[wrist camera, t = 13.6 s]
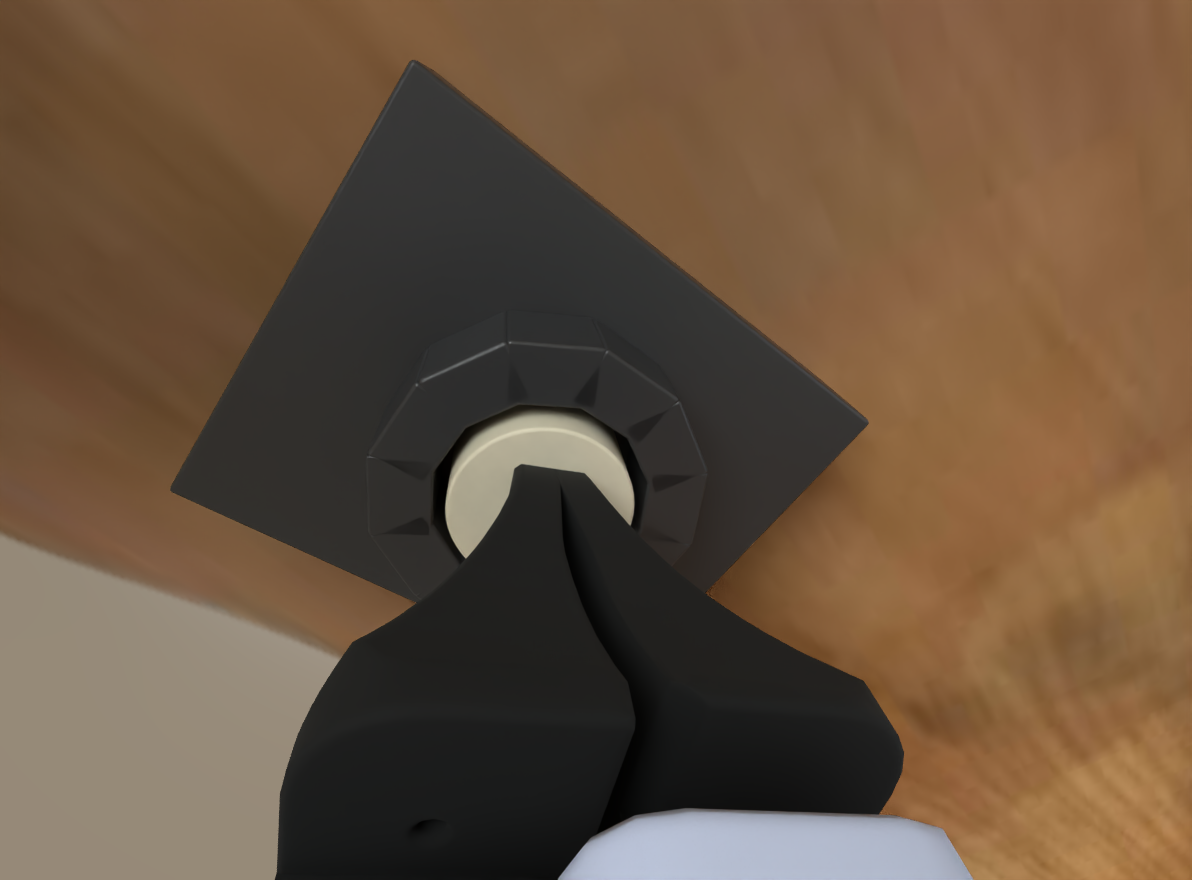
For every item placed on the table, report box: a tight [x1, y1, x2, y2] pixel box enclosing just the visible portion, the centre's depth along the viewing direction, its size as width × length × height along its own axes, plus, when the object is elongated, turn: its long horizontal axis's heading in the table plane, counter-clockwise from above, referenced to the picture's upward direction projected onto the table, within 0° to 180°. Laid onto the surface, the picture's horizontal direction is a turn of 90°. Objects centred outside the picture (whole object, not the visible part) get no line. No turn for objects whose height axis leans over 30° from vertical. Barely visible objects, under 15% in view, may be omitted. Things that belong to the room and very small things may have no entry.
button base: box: [170, 60, 869, 603], centre depth 15 cm, size 12×10×5 cm
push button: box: [445, 404, 634, 558], centre depth 13 cm, size 4×4×2 cm
